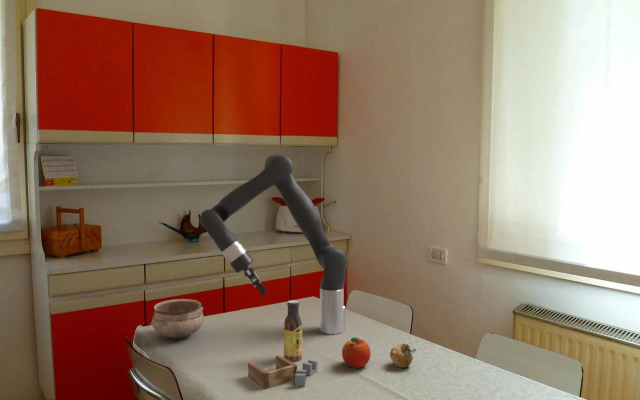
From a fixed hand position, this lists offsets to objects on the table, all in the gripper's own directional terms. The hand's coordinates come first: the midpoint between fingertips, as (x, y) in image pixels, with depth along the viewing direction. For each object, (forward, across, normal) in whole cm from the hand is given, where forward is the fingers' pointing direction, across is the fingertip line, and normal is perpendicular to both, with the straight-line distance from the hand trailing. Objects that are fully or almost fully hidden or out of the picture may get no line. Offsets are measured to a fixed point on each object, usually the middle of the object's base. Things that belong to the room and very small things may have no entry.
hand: (264, 293), depth 192 cm
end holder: (+21, -21, +13) cm, 32 cm away
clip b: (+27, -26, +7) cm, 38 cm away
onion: (+46, -16, -22) cm, 53 cm away
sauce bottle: (+24, -6, +6) cm, 25 cm away
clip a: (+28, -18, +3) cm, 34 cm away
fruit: (+37, -14, -10) cm, 41 cm away
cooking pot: (-6, +19, +36) cm, 41 cm away
